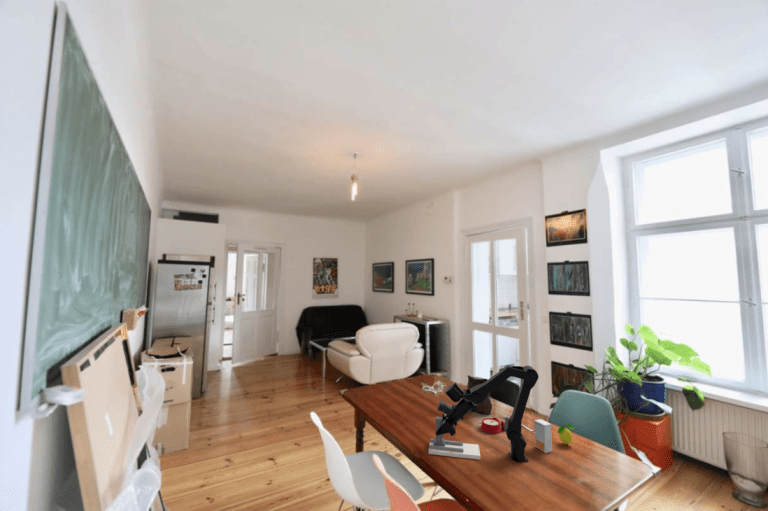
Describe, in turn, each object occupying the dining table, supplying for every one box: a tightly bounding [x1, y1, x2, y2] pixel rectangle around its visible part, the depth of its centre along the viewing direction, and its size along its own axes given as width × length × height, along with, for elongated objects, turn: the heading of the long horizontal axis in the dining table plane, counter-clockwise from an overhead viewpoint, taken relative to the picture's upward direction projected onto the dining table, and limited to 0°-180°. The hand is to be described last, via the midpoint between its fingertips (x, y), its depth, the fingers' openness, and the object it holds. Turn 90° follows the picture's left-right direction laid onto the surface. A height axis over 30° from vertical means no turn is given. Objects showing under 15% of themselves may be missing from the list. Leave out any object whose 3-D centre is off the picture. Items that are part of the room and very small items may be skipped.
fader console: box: [428, 438, 481, 461], centre depth 148 cm, size 22×10×3 cm, turn 78°
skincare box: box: [534, 418, 553, 454], centre depth 150 cm, size 6×4×12 cm
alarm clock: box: [479, 417, 505, 435], centre depth 171 cm, size 10×6×15 cm
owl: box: [466, 374, 493, 416], centre depth 194 cm, size 13×13×20 cm
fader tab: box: [433, 416, 446, 446], centre depth 150 cm, size 5×4×12 cm
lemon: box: [557, 422, 575, 446], centre depth 155 cm, size 7×6×10 cm
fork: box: [503, 413, 534, 432], centre depth 175 cm, size 3×24×2 cm, turn 25°
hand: (436, 432), depth 150 cm, fingers closed on fader tab, 3 cm apart
